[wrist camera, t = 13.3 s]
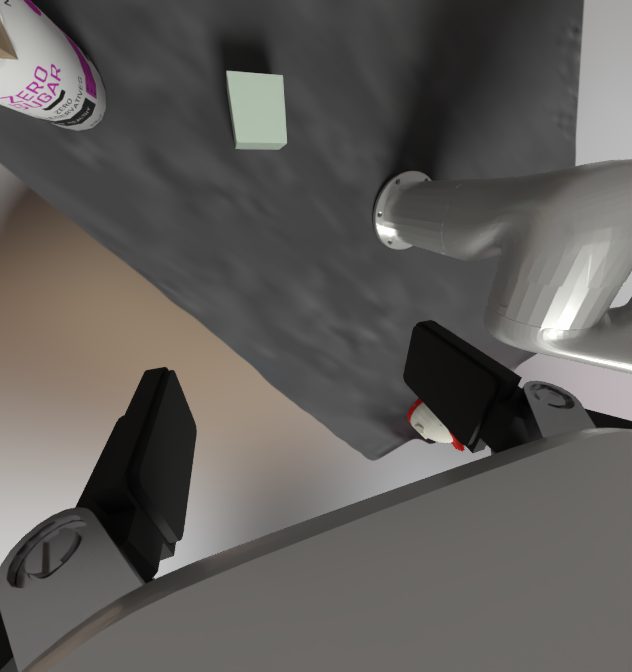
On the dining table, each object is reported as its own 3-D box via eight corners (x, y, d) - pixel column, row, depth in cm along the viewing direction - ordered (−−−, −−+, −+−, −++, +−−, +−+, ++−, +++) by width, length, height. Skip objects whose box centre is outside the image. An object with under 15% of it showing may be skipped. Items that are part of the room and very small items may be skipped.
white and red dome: (442, 384, 75) (484, 422, 63) (447, 409, 83) (485, 448, 71) (403, 407, 75) (437, 450, 63) (411, 430, 83) (443, 472, 71)
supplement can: (10, 2, 24) (-224, -198, 12) (115, 68, 28) (23, -29, 15) (7, 98, 27) (-186, 20, 14) (102, 147, 30) (15, 118, 18)
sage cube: (274, 92, 33) (282, 75, 28) (279, 149, 36) (287, 143, 31) (226, 89, 31) (226, 70, 26) (235, 149, 34) (236, 142, 29)
